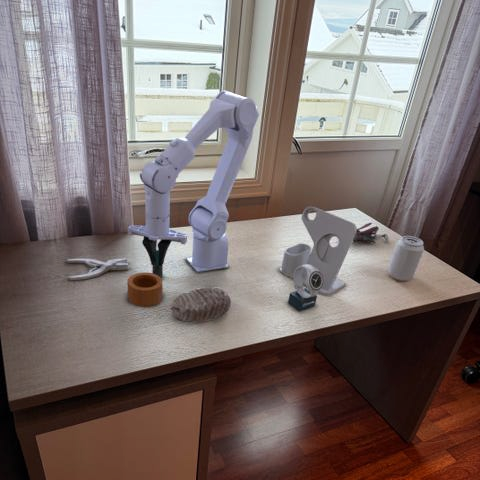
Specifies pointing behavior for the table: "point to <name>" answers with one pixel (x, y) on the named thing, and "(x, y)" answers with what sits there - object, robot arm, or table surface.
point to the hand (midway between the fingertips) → (157, 264)
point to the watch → (305, 297)
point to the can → (406, 258)
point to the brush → (157, 266)
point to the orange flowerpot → (145, 289)
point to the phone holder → (321, 249)
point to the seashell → (201, 304)
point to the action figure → (368, 234)
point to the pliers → (109, 265)
